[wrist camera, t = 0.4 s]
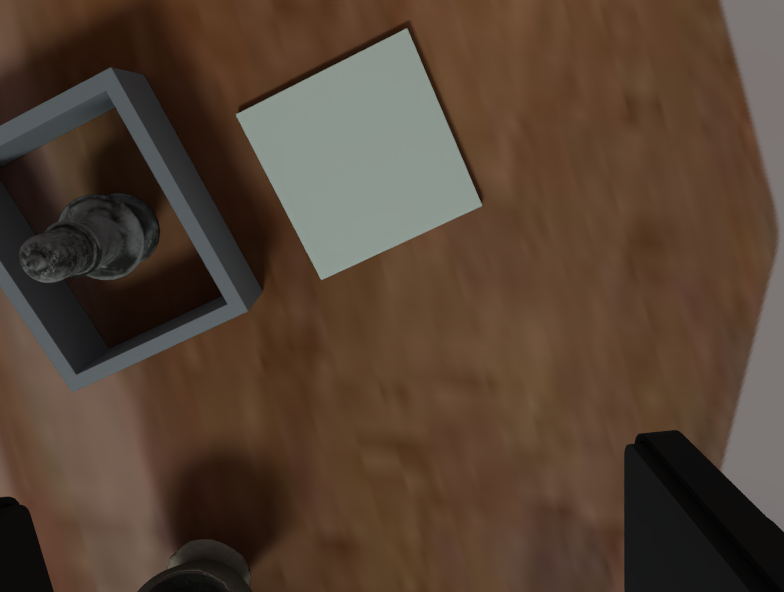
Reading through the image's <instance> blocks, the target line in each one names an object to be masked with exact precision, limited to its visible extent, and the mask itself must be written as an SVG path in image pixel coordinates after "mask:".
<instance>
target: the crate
mask: <svg viewBox="0 0 784 592" xmlns="http://www.w3.org/2000/svg"><path fill="white" fill-rule="evenodd" d="M115 107H116V109H117V111H118V113H119V114H120V116H121V118H122V120H123V122H124V123H125V125H126V127H127V129H128V130H129V132H130V134H131V136H132V137H133V139H134V141H135V143H136V144H137V146H138V148H139V150H140V151H141V153H142V155H143V157H144V158H145V160H146V162H147V164H148V165H149V167H150V169H151V171H152V172H153V174H154V176H155V178H156V179H157V181H158V183H159V185H160V186H161V188H162V190H163V192H164V193H165V195H166V197H167V199H168V200H169V202H170V204H171V206H172V208H173V209H174V211H175V213H176V215H177V216H178V218H179V220H180V222H181V223H182V225H183V227H184V229H185V230H186V232H187V234H188V236H189V237H190V239H191V241H192V243H193V244H194V246H195V248H196V250H197V251H198V253H199V255H200V257H201V258H202V260H203V262H204V264H205V265H206V267H207V269H208V271H209V272H210V274H211V276H212V278H213V279H214V281H215V283H216V285H217V287H218V288H219V290H220V292H221V294H222V295H223V296H221V297H219V298H217V299H215V300H212V301H210V302H208V303H206V304H204V305H202V306H200V307H197V308H195V309H193V310H191V311H189V312H187V313H185V314H183V315H180V316H178V317H176V318H174V319H172V320H170V321H168V322H165V323H163V324H161V325H159V326H157V327H155V328H153V329H150V330H148V331H146V332H144V333H142V334H140V335H138V336H136V337H133V338H131V339H129V340H127V341H125V342H123V343H121V344H118V345H116V346H114V347H112V348H110V349H109V348H108V347H107V345H106V344H105V342H104V341H103V339H102V337H101V336H100V334H99V333H98V331H97V330H96V328H95V327H94V325H93V323H92V322H91V320H90V319H89V317H88V316H87V314H86V313H85V311H84V309H83V308H82V306H81V305H80V303H79V302H78V300H77V299H76V297H75V295H74V294H73V292H72V291H71V289H70V288H69V286H68V285H67V283H66V281H65V280H64V279H63V280H61V281H57V282H51V283H45V282H40V281H37V280H35V279H33V278H32V277H30V276H29V275H28V274H27V273H26V272H25V271H24V270H23V268H22V266H21V264H20V260H19V251H20V248H21V246H22V245H23V243H24V242H25V241H26V240H28V239H29V238H30V237H32V236H35V233H34V232H33V230H32V229H31V227H30V225H29V224H28V222H27V221H26V219H25V218H24V216H23V215H22V213H21V211H20V210H19V208H18V207H17V205H16V204H15V202H14V201H13V199H12V197H11V196H10V194H9V193H8V191H7V190H6V188H5V187H4V185H3V183H2V182H1V180H0V287H1V288H2V290H3V291H4V292H5V294H6V295H7V297H8V298H9V300H10V301H11V303H12V304H13V306H14V307H15V309H16V310H17V312H18V313H19V315H20V316H21V318H22V319H23V321H24V322H25V324H26V325H27V327H28V328H29V329H30V331H31V332H32V334H33V335H34V337H35V338H36V340H37V341H38V343H39V344H40V346H41V347H42V349H43V350H44V352H45V353H46V355H47V356H48V358H49V359H50V361H51V362H52V363H53V365H54V366H55V368H56V369H57V371H58V372H59V374H60V375H61V377H62V378H63V380H64V381H65V383H66V384H67V386H68V387H69V389H70V390H71V392H74V391H76V390H79V389H81V388H83V387H85V386H87V385H89V384H92V383H94V382H96V381H98V380H100V379H102V378H105V377H107V376H109V375H111V374H113V373H115V372H118V371H120V370H122V369H124V368H126V367H128V366H130V365H133V364H135V363H137V362H139V361H141V360H143V359H146V358H148V357H150V356H152V355H154V354H156V353H159V352H161V351H163V350H165V349H167V348H169V347H172V346H174V345H176V344H178V343H180V342H182V341H185V340H187V339H189V338H191V337H193V336H195V335H197V334H200V333H202V332H204V331H206V330H208V329H210V328H213V327H215V326H217V325H219V324H221V323H223V322H226V321H228V320H230V319H232V318H234V317H236V316H239V315H241V314H243V313H245V312H247V311H248V310H249V309H250V308H251V306H252V305H253V304H254V303H255V301H256V300H257V299H258V297H259V296H260V295H261V293H262V292H263V291H262V289H261V287H260V285H259V283H258V282H257V280H256V278H255V276H254V274H253V273H252V271H251V269H250V267H249V265H248V263H247V262H246V260H245V258H244V256H243V254H242V252H241V251H240V249H239V247H238V245H237V243H236V242H235V240H234V238H233V236H232V234H231V232H230V231H229V229H228V227H227V225H226V223H225V222H224V220H223V218H222V216H221V214H220V212H219V211H218V209H217V207H216V205H215V203H214V201H213V200H212V198H211V196H210V194H209V192H208V191H207V189H206V187H205V185H204V183H203V181H202V180H201V178H200V176H199V174H198V172H197V170H196V169H195V167H194V165H193V163H192V161H191V160H190V158H189V156H188V154H187V152H186V150H185V149H184V147H183V145H182V143H181V141H180V140H179V138H178V136H177V134H176V132H175V130H174V129H173V127H172V125H171V123H170V121H169V119H168V118H167V116H166V114H165V112H164V110H163V109H162V107H161V105H160V103H159V101H158V99H157V98H156V96H155V94H154V92H153V90H152V88H151V87H150V85H149V83H148V81H147V79H146V78H145V76H144V75H143V74H139V73H135V72H130V71H126V70H121V69H117V68H112V67H110V68H109V69H107V70H105V71H103V72H101V73H99V74H97V75H95V76H93V77H92V78H90V79H88V80H86V81H84V82H82V83H80V84H78V85H76V86H74V87H73V88H71V89H69V90H67V91H65V92H63V93H61V94H59V95H57V96H56V97H54V98H52V99H50V100H48V101H46V102H44V103H42V104H40V105H38V106H37V107H35V108H33V109H31V110H29V111H27V112H25V113H23V114H21V115H20V116H18V117H16V118H14V119H12V120H10V121H8V122H6V123H4V124H3V125H1V126H0V167H2V166H3V165H5V164H7V163H9V162H11V161H13V160H15V159H17V158H19V157H21V156H23V155H25V154H27V153H29V152H30V151H32V150H34V149H36V148H38V147H40V146H42V145H44V144H46V143H48V142H50V141H52V140H54V139H55V138H57V137H59V136H61V135H63V134H65V133H67V132H69V131H71V130H73V129H75V128H77V127H79V126H81V125H82V124H84V123H86V122H88V121H90V120H92V119H94V118H96V117H98V116H100V115H102V114H104V113H106V112H108V111H109V110H111V109H113V108H115Z"/></svg>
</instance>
